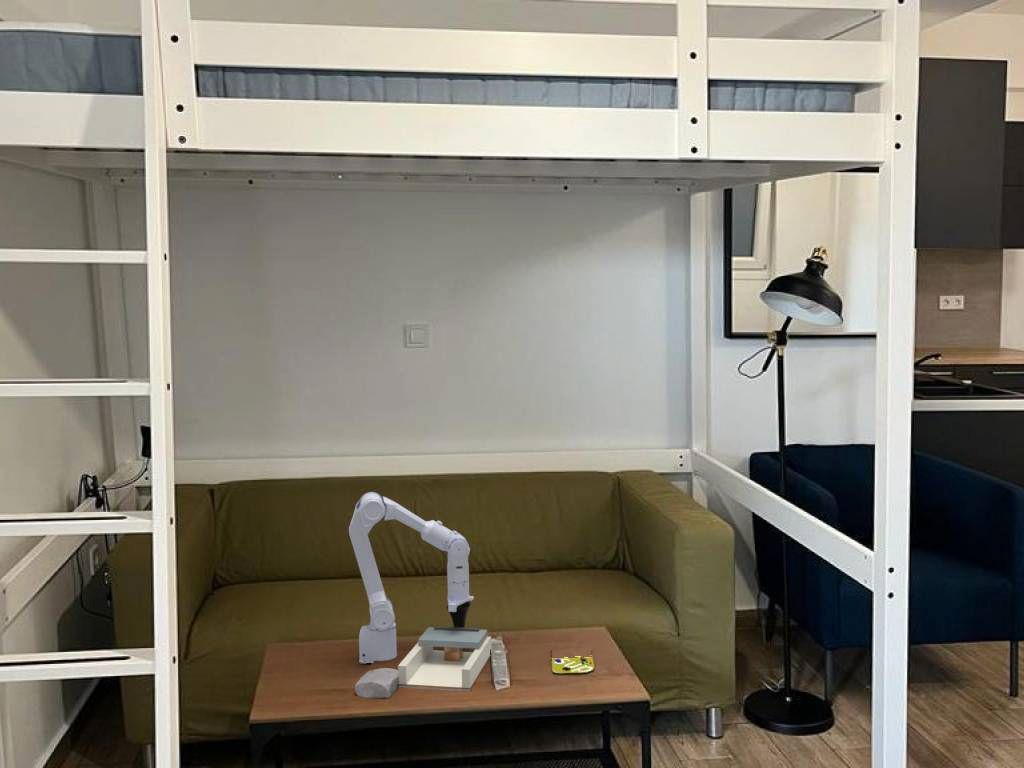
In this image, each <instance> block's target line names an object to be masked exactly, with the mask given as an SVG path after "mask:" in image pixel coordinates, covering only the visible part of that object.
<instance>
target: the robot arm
mask: <svg viewBox="0 0 1024 768" xmlns="http://www.w3.org/2000/svg"><path fill="white" fill-rule="evenodd" d="M382 519H384V521H390V520H396V521H397V522H400V523H402V524H404V525H405V526H408V527H410V528H411V529H412V530H415V531H417V532H419V533H420V535H421V540H422V541H425V542H426V543H428V544H429V545H431V546H433V547H435V548H437V549H439V550H440V551H443V552H447V564H446V571H447V574H446V577H447V597H446V598H447V599H446V601H447V603H448V604H447V605H446V610H447V612H448V613H449V615H450V616H451V620H452V624H453V627H465V625H466V619H467V615H468V611H469V608H470V607H471V604H472V603H471V601H474V599H475V597H474V595H470V570H469V569H470V567H469V566H470V565H469V564H470V563H469V555H470V552H471V548H470V546H469V542H468V541H467V539H466V538H465V536H464V535H462V534H461V533H459V532H458V531H456V530H450V528H448V527H446V526H444V525H443V522H442V521H440V520H437V521H435V520H434V519H432V520H428V521H426V520H424V519H422V518H421V517H419V516H418V515H417V514H415V513H413V512H412V511H410V510H408V509H407V508H405V507H404V506H402V505H400V504H399V503H398V502H395V501H394V500H393V499H391V498H388V497H386V496H381V495H380V494H379V493H378V492H374V491H371V492H370V491H369V492H367V493H364V494H363V495H362V496H361V497H360V499H359V500H358V501H357V503H356V504H355V508H354V512H353V515H352V518H351V521H350V524H349V527H348V535H349V537H350V538H349V539H350V540H351V541H350V542H351V545H352V547H353V551H354V555H355V558H356V561H357V565H358V568H359V572H360V575H361V578H362V582H363V584H364V589H365V591H366V595H367V600H368V603H369V607H368V611H369V615H370V622H369V623H368V625H363V626H361V628H360V631H359V635H358V648H359V649H358V651H359V654H358V655H359V660H358V663H359V662H361V663H360V664H366V663H372V664H374V663H375V661H376V662H385V661H390V660H393V659H395V658H396V657H397V655H398V652H397V651H398V650H397V646H398V645H397V624H396V622H395V620H396V616H395V612H394V609H393V608H394V607H393V603H392V602H391V600H390V599H389V598H388V597H387V594H386V592H385V591H386V590H385V589H384V586H383V582H382V579H381V576H380V573H379V568H378V566H377V562H376V558H375V555H374V552H373V549H372V544H371V542H370V538H369V533H370V531H371V530H372V528H373V527H374V526H375V525H376V524H377V523H379V522H380V521H381V520H382ZM364 661H365V662H364Z"/></svg>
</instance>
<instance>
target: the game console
mask: <svg viewBox="0 0 1024 768" xmlns="http://www.w3.org/2000/svg"><path fill="white" fill-rule="evenodd" d="M590 656H592V657H584V658H580V657H581V656H575V657H578V658H568V657H564V658H551V657H550V659H552V661H551V670H552V671H551V672H552V675H555V676H582V674H583V675H589V674H592V673H593V672H594V671H595V663H594V658H593V654H592V655H590ZM591 672H592V673H591Z"/></svg>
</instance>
